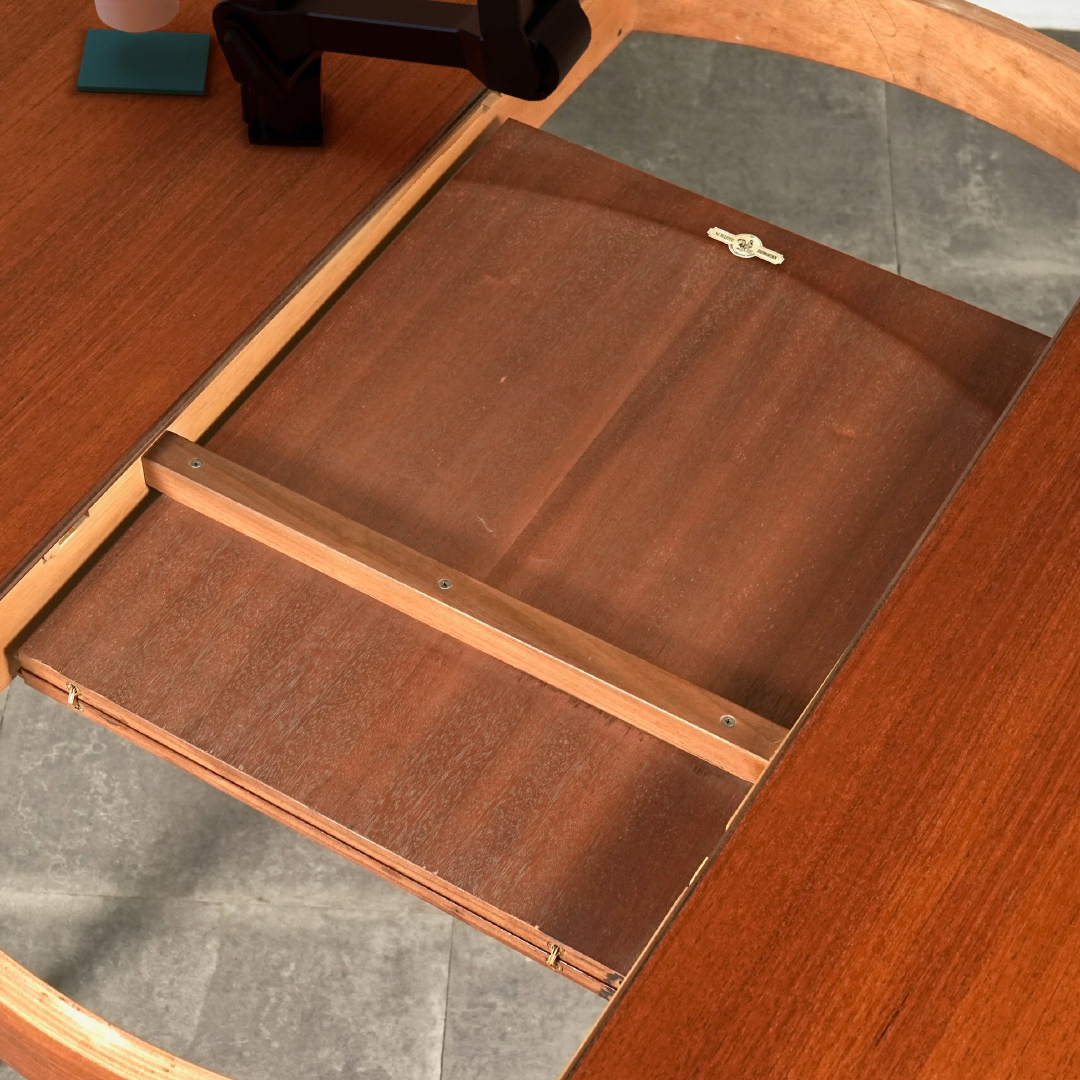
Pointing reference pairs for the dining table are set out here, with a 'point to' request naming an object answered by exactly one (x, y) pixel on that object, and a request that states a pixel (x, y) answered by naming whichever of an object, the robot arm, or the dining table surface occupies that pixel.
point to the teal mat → (144, 62)
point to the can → (137, 14)
